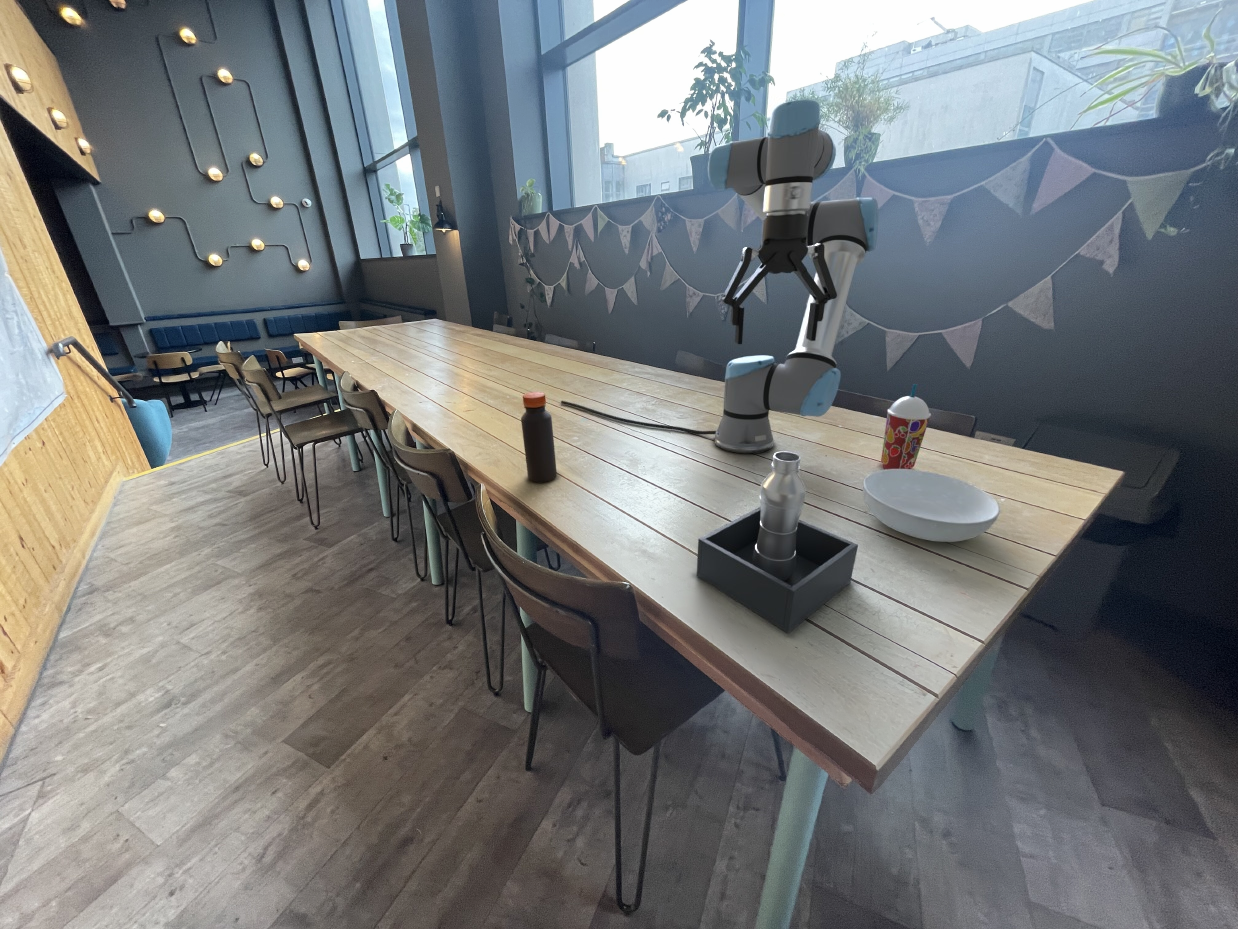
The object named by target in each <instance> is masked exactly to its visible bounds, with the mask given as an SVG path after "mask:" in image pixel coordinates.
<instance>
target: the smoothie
mask: <svg viewBox="0 0 1238 929" xmlns="http://www.w3.org/2000/svg"><path fill="white" fill-rule="evenodd" d="M917 386H918V384H917V383H913V384H912V390H911V393H910V395H906V396H901V397H900V398H898V399H897V400H895V401H894V402H893V403H892V404H891V406H890V407H889V408H887V410H886V411H887V414H886V421H885V428H884V429H885V430H884V437H883V442H882V451H881V459H880V462H881V464H882V468H884V470H888V469H911V470H912V468H914V467H915V465H916V462H917V459H918V456H919V452H920V450H921V446H922V444H923V440H924V437H925V435H926V430H927V429H928V428H927V427H928V425H929V421H930V418H931V416H932V413H931V412H930V409H929V405H928V404H927V403H926V401H924V400H923V399H922V398H920V397H917V396H915V395H916V390H917Z"/></svg>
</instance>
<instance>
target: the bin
mask: <svg viewBox="0 0 1238 929" xmlns="http://www.w3.org/2000/svg"><path fill="white" fill-rule="evenodd" d="M760 515H761V506H758V507H756V508H754V509H753V510H751V511H749V512H746V513H745V514H743V515H741V516H739V517H738V518H735V519H733V520H732V521H730V522H727V523H726V524H724V525H722V526H720V527H718V528H716V529H714V530H712V531H710V532H709V533H706V534H704V535H703V536H701V537H699V538H697V559H696V561H697V562H696V577H698V578H700V580H702V581H704V582H706V583H707V584H709V585H710V586H712V587H714V588H715V589H716V590H718V591H720V592H721V593H723V594H725V595H726V596H728V597H729V598H731V599H732V600H734V601H736V602H737V603H739V604H741V605H742V606H744V607H745V608H747V609H748V610H750V611H752V612H753V613H755V614H756V615H757V616H759V617H761V618H763V619H764V620H765V621H767V622H769V623H770V624H772V625H773V626H776V628H779V629H780V630H782V631H783V632H784V633H786V634H790V633H791V632H792V631H793V630H794V629H795V628H797V627H798V626H800V625H801V624H802V623H803V622H804V621H805V620H807V619H808V618H809V617H810V616H812V615H813V614H814V613H816V611H818V610H819V609H820V608H822V607H823V606H824V605H825V604H827V603H828V602H829V601H830V600H831V599H833V598H834V597H835V596H836V595H837V594H839V593H840V592H841V591H843V589H845V588H846V587H848V585H850V584H851V581H852V576H853V571H854V567H855V562H856V557H857V552H858V547H859V543H858V544H857V543H855V542H853V541H851V540H848V539H846V538H844V537H841V536H839V535H836V534H834V533H833V532H832V533H831V532H829V531H827V530H825V529H823V528H820V527H818V526H815V525H813V524H810V523H808V522H806V521H803V520H801V519H799V521H798V526H797V531H796V546H795V551H796V567H795V570H794V573H793V574H792V576H791V577H789V578H788V579H787V580H785V581H781V580H779V579H778V578H776V577H774V576H772V575H770V574H768V573H767V572H765V571H763V570H761V569H759V568H757V567H756V566H754V565H753V559H752V557H753V553H754V549H755V546H756V544H757V539H758V534H759V529H760Z"/></svg>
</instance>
